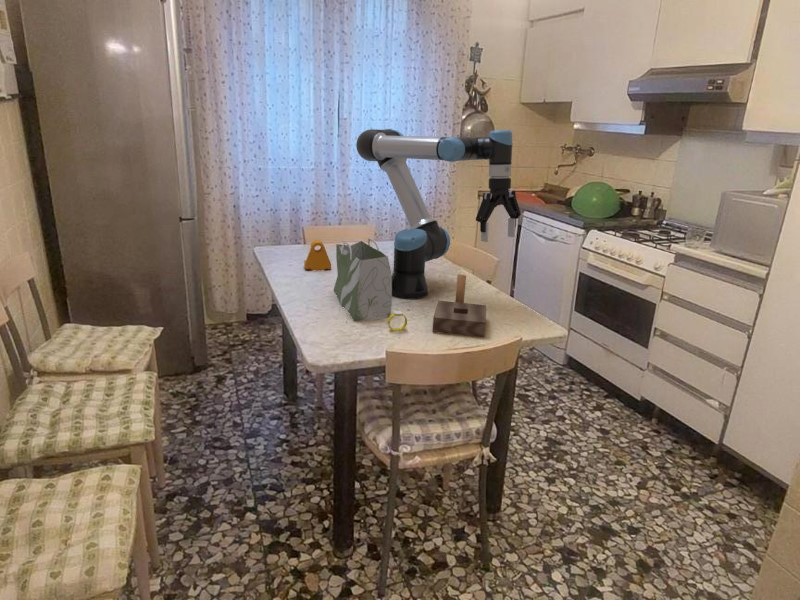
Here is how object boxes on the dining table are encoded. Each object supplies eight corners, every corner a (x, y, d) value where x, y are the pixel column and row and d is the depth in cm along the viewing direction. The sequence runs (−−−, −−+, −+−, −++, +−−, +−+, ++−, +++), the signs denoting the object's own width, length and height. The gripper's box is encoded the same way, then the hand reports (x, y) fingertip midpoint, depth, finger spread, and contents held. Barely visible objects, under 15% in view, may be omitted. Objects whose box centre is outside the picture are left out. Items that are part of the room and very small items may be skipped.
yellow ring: (404, 328, 167) (406, 310, 165) (406, 332, 164) (409, 314, 162) (386, 328, 165) (388, 310, 163) (388, 331, 162) (390, 313, 160)
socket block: (432, 332, 164) (433, 317, 162) (437, 314, 179) (438, 300, 177) (484, 337, 162) (485, 322, 160) (484, 319, 177) (486, 305, 175)
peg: (454, 309, 184) (457, 276, 180) (455, 306, 187) (457, 274, 183) (463, 310, 184) (466, 277, 180) (463, 307, 187) (466, 275, 183)
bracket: (329, 265, 229) (329, 238, 225) (331, 270, 222) (331, 242, 219) (304, 266, 227) (303, 238, 223) (305, 271, 220) (304, 242, 216)
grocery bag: (329, 290, 197) (330, 229, 190) (365, 288, 202) (367, 228, 194) (352, 322, 169) (353, 251, 161) (392, 318, 174) (396, 250, 166)
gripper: (481, 179, 170) (480, 244, 176) (532, 175, 184) (529, 236, 190) (465, 179, 176) (465, 242, 182) (516, 175, 190) (513, 233, 196)
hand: (498, 239), depth 186 cm, fingers open, 13 cm apart
